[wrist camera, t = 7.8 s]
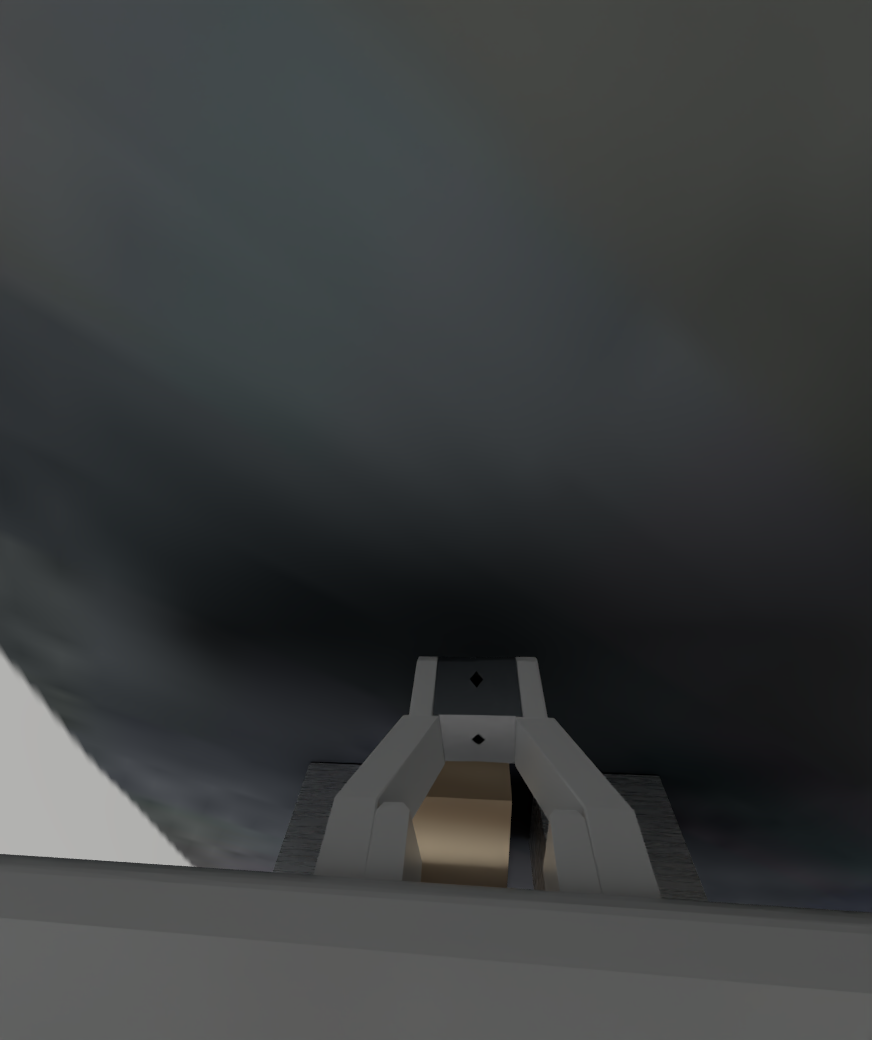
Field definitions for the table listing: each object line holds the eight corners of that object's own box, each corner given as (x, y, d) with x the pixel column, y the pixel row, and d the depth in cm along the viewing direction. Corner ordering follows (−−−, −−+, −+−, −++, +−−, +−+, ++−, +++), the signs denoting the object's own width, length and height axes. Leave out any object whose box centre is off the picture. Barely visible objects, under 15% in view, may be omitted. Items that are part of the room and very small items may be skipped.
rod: (415, 698, 13) (402, 795, 11) (504, 700, 13) (511, 800, 11) (442, 883, 21) (438, 965, 19) (498, 888, 21) (501, 971, 19)
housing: (309, 762, 16) (187, 1122, 9) (659, 775, 15) (829, 1212, 8) (339, 831, 19) (264, 1141, 12) (630, 847, 18) (735, 1208, 11)
